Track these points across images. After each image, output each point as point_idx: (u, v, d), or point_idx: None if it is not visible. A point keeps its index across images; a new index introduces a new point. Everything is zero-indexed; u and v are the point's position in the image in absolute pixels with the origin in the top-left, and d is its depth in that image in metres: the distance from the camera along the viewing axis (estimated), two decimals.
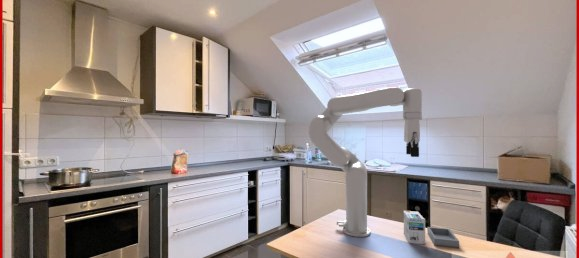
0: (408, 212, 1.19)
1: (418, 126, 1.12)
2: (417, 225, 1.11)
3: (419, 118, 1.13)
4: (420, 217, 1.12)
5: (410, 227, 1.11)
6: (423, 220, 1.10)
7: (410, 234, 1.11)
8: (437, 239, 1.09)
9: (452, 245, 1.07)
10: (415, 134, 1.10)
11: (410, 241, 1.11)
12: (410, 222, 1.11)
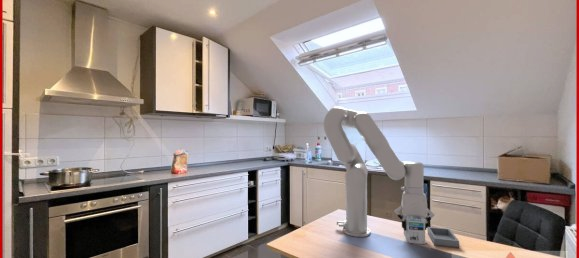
0: None
1: None
2: (417, 225, 1.11)
3: None
4: (420, 217, 1.12)
5: (410, 227, 1.11)
6: (423, 220, 1.10)
7: (410, 234, 1.11)
8: (437, 239, 1.09)
9: (452, 245, 1.07)
10: None
11: (410, 241, 1.11)
12: (410, 222, 1.11)
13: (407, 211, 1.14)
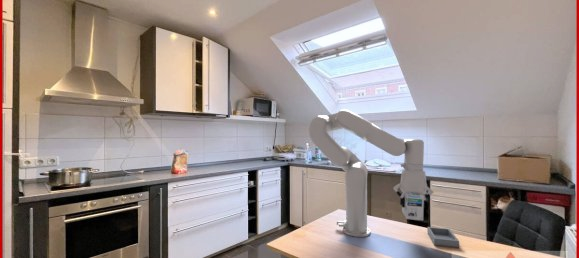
0: None
1: None
2: (416, 201, 1.11)
3: None
4: (419, 194, 1.12)
5: (408, 203, 1.12)
6: (422, 196, 1.10)
7: (408, 210, 1.12)
8: (437, 239, 1.09)
9: (452, 245, 1.07)
10: (428, 187, 1.14)
11: (408, 217, 1.12)
12: (409, 198, 1.12)
13: (406, 188, 1.14)
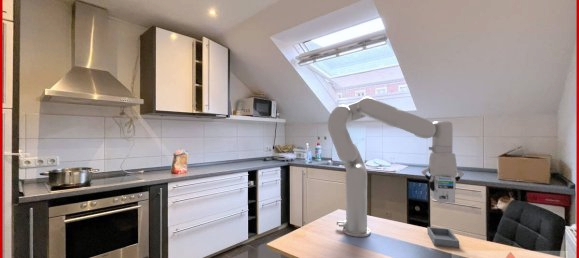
0: None
1: None
2: (447, 183, 1.09)
3: None
4: (449, 176, 1.10)
5: (439, 186, 1.10)
6: (453, 178, 1.08)
7: (439, 193, 1.10)
8: (437, 239, 1.09)
9: (452, 245, 1.07)
10: None
11: (439, 200, 1.10)
12: (439, 181, 1.10)
13: (436, 171, 1.12)
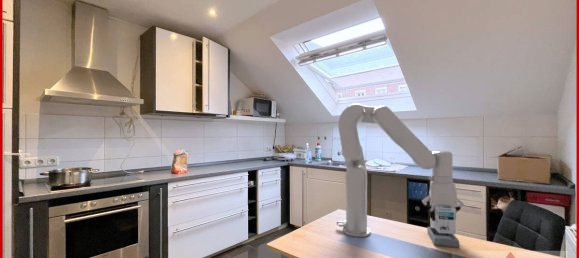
0: None
1: None
2: (447, 214, 1.09)
3: None
4: None
5: (440, 217, 1.10)
6: (453, 209, 1.09)
7: (440, 224, 1.10)
8: (437, 239, 1.09)
9: (452, 245, 1.07)
10: (458, 199, 1.12)
11: (440, 231, 1.10)
12: (440, 212, 1.10)
13: (436, 201, 1.12)
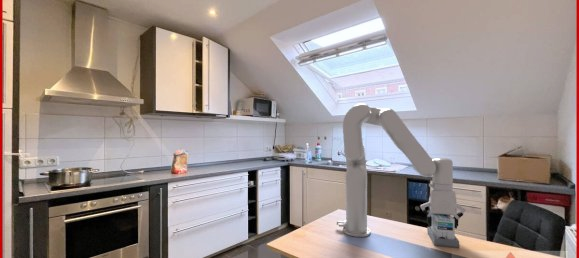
0: None
1: None
2: (446, 225, 1.09)
3: None
4: (449, 217, 1.11)
5: (439, 227, 1.10)
6: (452, 220, 1.09)
7: (439, 234, 1.10)
8: (437, 239, 1.09)
9: (452, 245, 1.07)
10: None
11: None
12: (439, 222, 1.10)
13: (436, 208, 1.12)
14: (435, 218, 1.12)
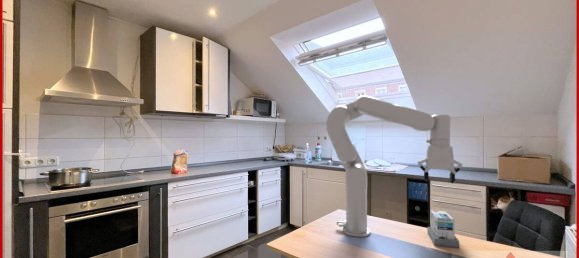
0: (436, 212, 1.17)
1: None
2: (446, 225, 1.09)
3: None
4: (449, 217, 1.11)
5: (439, 227, 1.10)
6: (452, 220, 1.09)
7: (439, 234, 1.10)
8: (437, 239, 1.09)
9: (452, 245, 1.07)
10: None
11: None
12: (439, 222, 1.10)
13: (433, 163, 1.14)
14: (435, 218, 1.12)
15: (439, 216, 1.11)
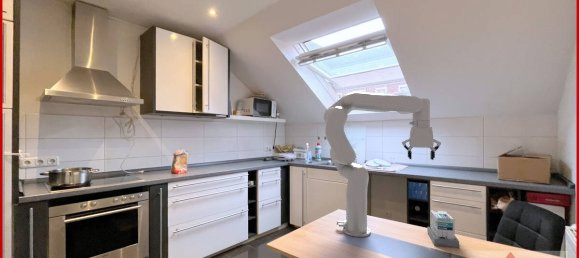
0: (436, 212, 1.17)
1: None
2: (446, 225, 1.09)
3: None
4: (449, 217, 1.11)
5: (439, 227, 1.10)
6: (452, 220, 1.09)
7: (439, 234, 1.10)
8: (437, 239, 1.09)
9: (452, 245, 1.07)
10: None
11: None
12: (439, 222, 1.10)
13: (415, 142, 1.27)
14: (435, 218, 1.12)
15: (439, 216, 1.11)
